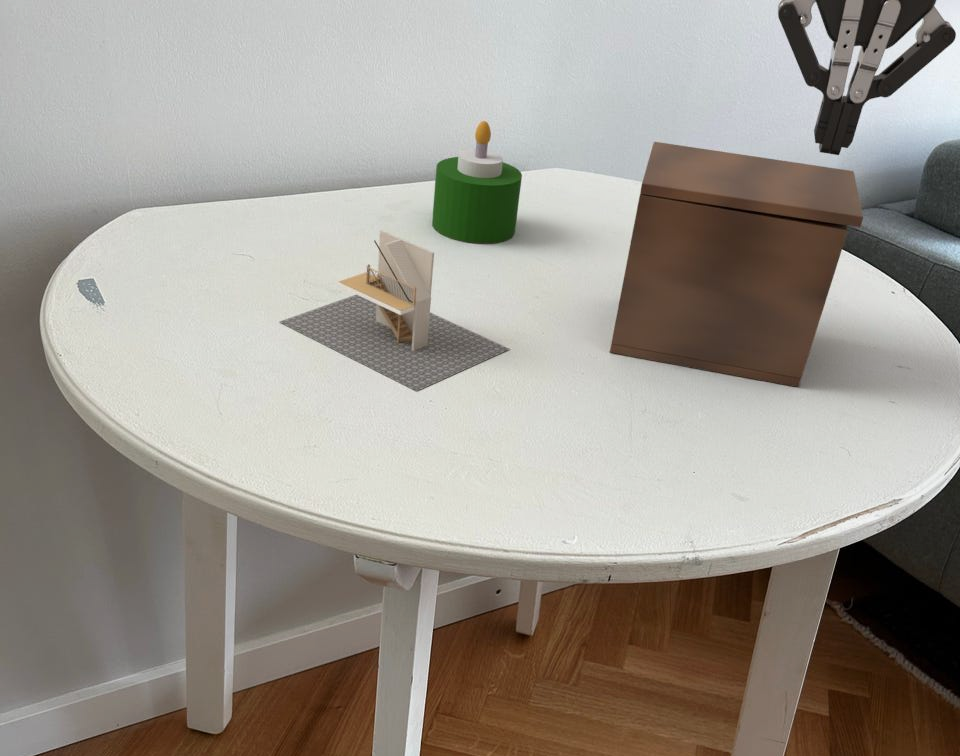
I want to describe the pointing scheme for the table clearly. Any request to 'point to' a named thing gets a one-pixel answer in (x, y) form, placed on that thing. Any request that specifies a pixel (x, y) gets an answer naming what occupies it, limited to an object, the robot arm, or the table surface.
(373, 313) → the architectural model
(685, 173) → the lid
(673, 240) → the toy box
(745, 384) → the table surface
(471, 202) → the candle
